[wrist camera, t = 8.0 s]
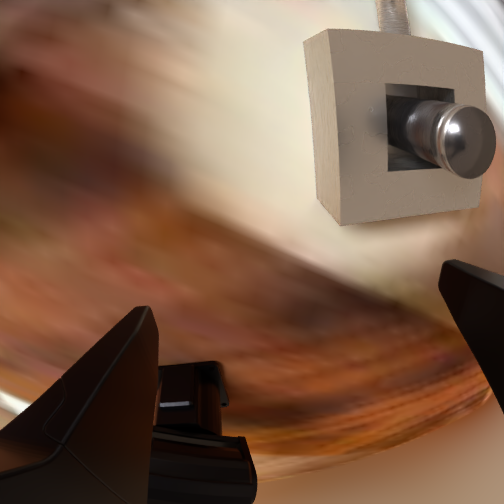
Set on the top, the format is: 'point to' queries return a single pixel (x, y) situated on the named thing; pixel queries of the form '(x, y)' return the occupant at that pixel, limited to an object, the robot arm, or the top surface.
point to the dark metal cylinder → (442, 134)
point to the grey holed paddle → (384, 118)
